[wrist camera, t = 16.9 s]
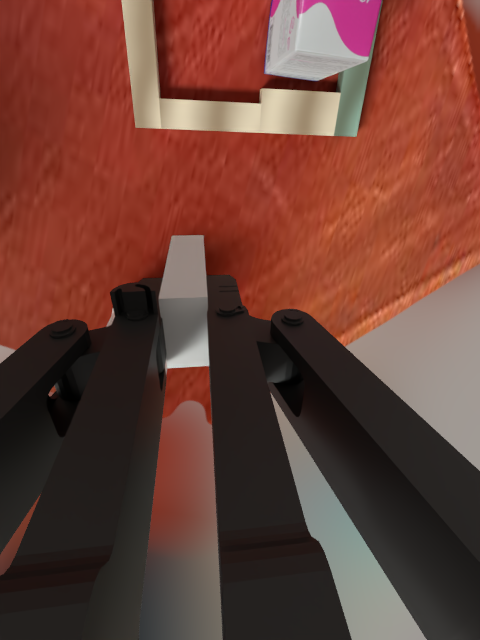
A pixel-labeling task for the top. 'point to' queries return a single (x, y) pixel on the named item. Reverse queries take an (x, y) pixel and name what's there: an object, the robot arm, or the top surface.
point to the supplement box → (319, 36)
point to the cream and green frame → (266, 117)
